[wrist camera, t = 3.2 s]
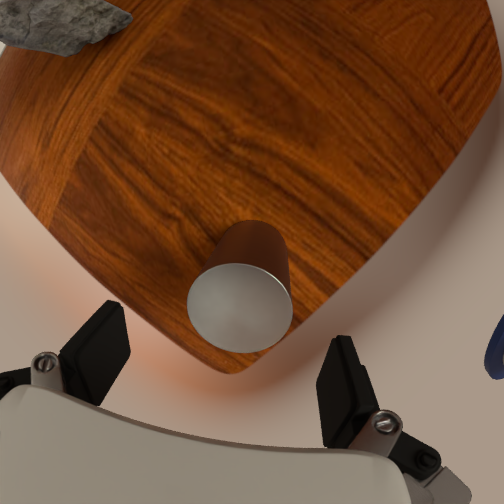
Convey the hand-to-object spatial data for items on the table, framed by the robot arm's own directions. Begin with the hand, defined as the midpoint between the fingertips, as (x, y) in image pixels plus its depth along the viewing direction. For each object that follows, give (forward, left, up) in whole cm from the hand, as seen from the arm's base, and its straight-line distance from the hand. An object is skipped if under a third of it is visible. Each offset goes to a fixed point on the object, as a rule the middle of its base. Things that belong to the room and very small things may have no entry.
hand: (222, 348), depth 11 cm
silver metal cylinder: (0, 0, -12) cm, 12 cm away
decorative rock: (+20, -22, -12) cm, 32 cm away
